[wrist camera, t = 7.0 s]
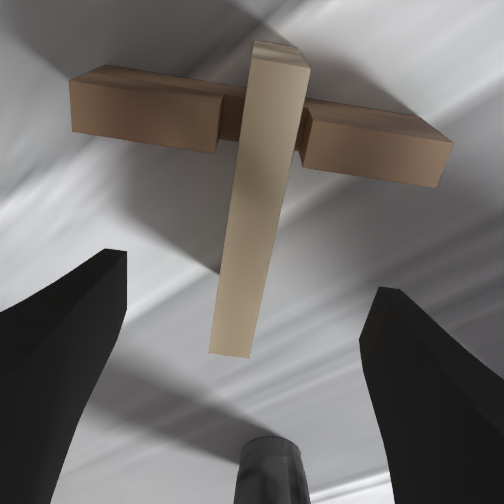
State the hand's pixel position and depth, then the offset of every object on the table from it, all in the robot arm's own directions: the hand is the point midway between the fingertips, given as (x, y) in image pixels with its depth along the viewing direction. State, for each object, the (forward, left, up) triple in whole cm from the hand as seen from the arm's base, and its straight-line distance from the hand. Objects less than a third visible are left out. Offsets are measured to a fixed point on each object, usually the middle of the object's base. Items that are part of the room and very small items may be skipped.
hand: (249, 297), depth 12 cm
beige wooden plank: (0, 0, -10) cm, 10 cm away
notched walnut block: (+3, -1, -10) cm, 10 cm away
